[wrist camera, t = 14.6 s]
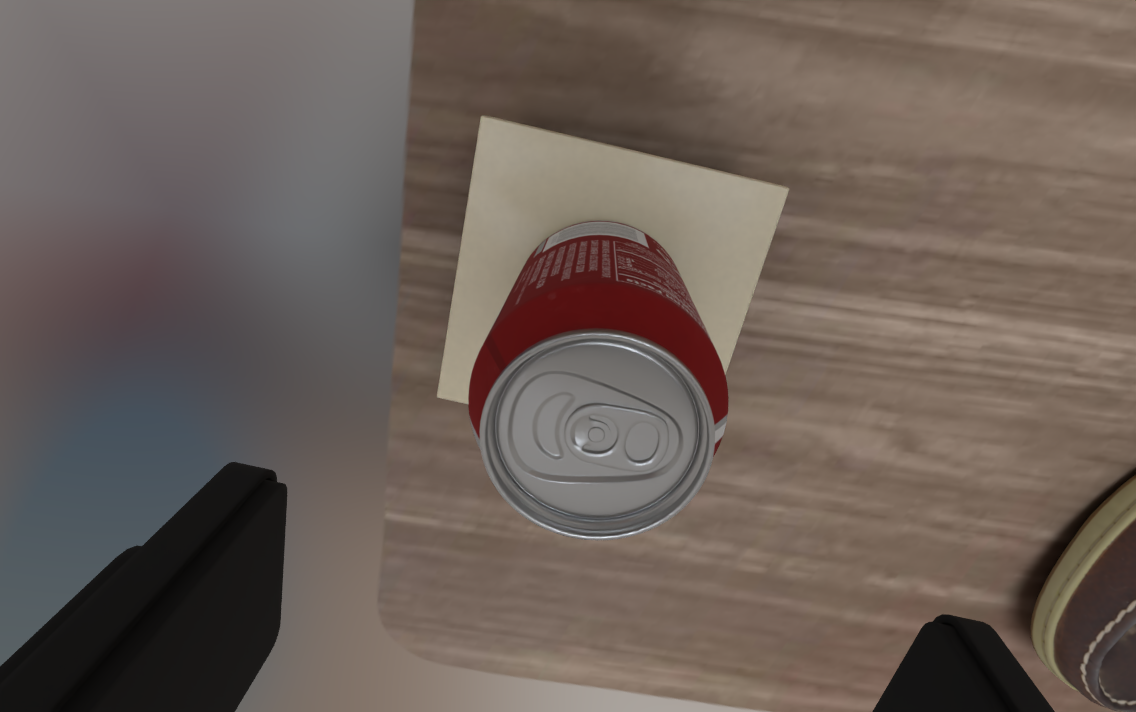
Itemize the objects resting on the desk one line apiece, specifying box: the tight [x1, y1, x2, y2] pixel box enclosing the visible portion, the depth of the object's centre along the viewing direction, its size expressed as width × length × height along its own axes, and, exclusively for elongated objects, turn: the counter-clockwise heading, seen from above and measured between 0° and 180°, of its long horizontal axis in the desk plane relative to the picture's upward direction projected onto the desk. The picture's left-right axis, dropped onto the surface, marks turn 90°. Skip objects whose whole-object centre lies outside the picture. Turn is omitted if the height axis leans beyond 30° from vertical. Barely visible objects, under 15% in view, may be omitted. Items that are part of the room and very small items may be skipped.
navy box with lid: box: [437, 115, 789, 404], centre depth 29 cm, size 12×12×6 cm
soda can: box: [468, 220, 728, 540], centre depth 20 cm, size 7×7×12 cm
